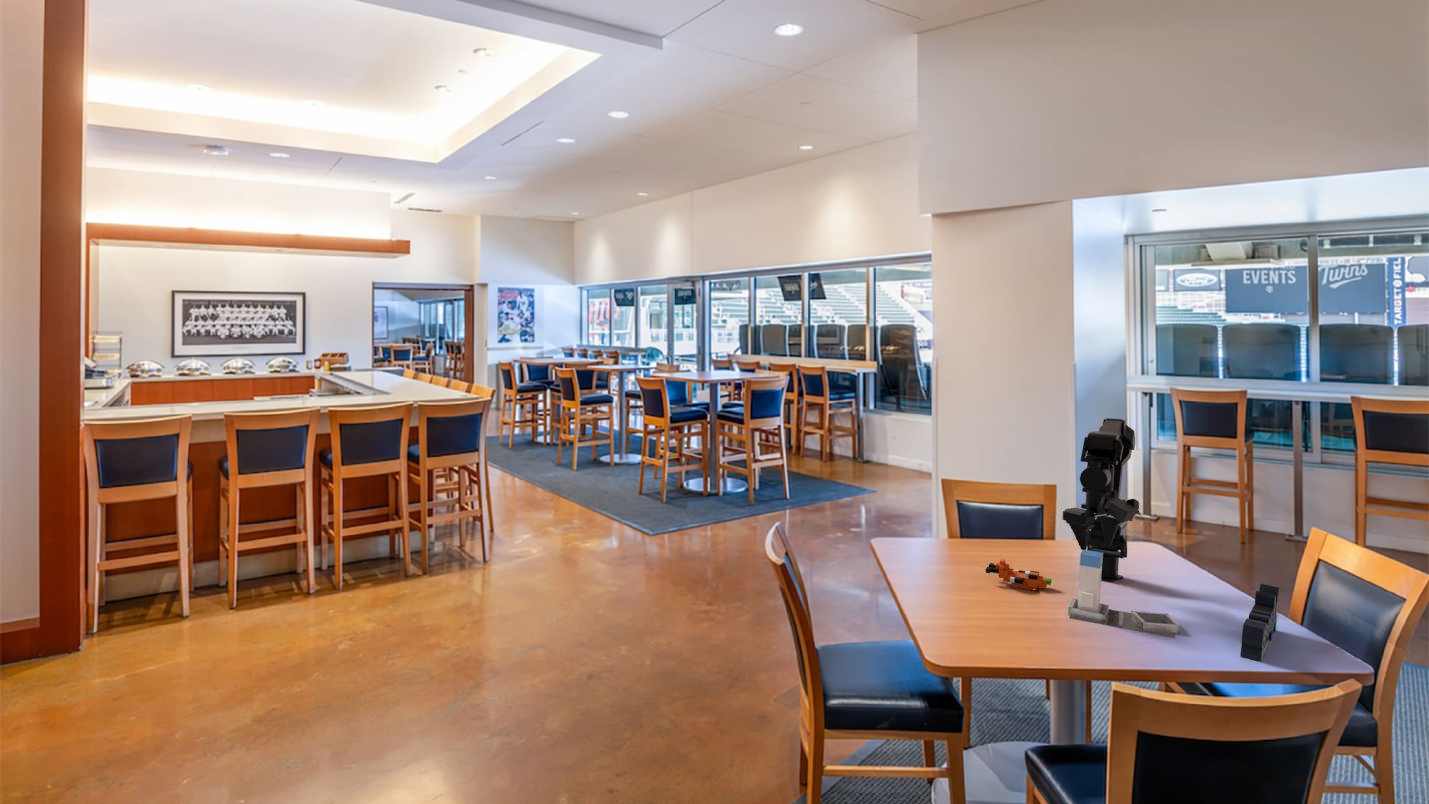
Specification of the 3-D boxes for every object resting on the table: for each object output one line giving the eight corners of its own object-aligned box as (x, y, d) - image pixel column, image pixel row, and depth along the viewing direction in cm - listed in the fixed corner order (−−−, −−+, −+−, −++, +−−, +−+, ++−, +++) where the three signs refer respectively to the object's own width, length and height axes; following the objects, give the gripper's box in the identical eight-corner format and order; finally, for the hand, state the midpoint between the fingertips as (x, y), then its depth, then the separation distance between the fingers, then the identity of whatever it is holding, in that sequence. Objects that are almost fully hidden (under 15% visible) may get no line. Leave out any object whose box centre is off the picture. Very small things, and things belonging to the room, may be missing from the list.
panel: (1172, 622, 162) (1172, 619, 162) (1174, 640, 153) (1175, 636, 153) (1073, 605, 172) (1073, 601, 172) (1069, 620, 163) (1069, 616, 163)
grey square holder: (1072, 607, 171) (1073, 598, 171) (1108, 614, 167) (1108, 605, 167) (1067, 617, 165) (1068, 607, 164) (1104, 624, 161) (1105, 615, 160)
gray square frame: (1130, 619, 164) (1131, 610, 163) (1166, 622, 162) (1167, 613, 162) (1142, 632, 156) (1143, 623, 156) (1180, 636, 155) (1181, 626, 155)
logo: (1257, 626, 161) (1261, 582, 160) (1275, 630, 159) (1279, 586, 158) (1239, 660, 144) (1243, 611, 143) (1260, 665, 142) (1264, 615, 141)
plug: (1079, 608, 168) (1082, 549, 167) (1099, 612, 166) (1103, 552, 165) (1076, 615, 164) (1079, 555, 163) (1096, 619, 162) (1100, 558, 161)
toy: (991, 554, 192) (1053, 564, 184) (990, 576, 192) (1052, 587, 185) (985, 562, 185) (1049, 572, 177) (984, 585, 186) (1048, 596, 178)
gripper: (1106, 494, 165) (1101, 562, 166) (1156, 488, 173) (1152, 552, 175) (1062, 485, 175) (1059, 549, 176) (1112, 479, 183) (1108, 540, 185)
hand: (1095, 547), depth 178 cm, fingers open, 9 cm apart
